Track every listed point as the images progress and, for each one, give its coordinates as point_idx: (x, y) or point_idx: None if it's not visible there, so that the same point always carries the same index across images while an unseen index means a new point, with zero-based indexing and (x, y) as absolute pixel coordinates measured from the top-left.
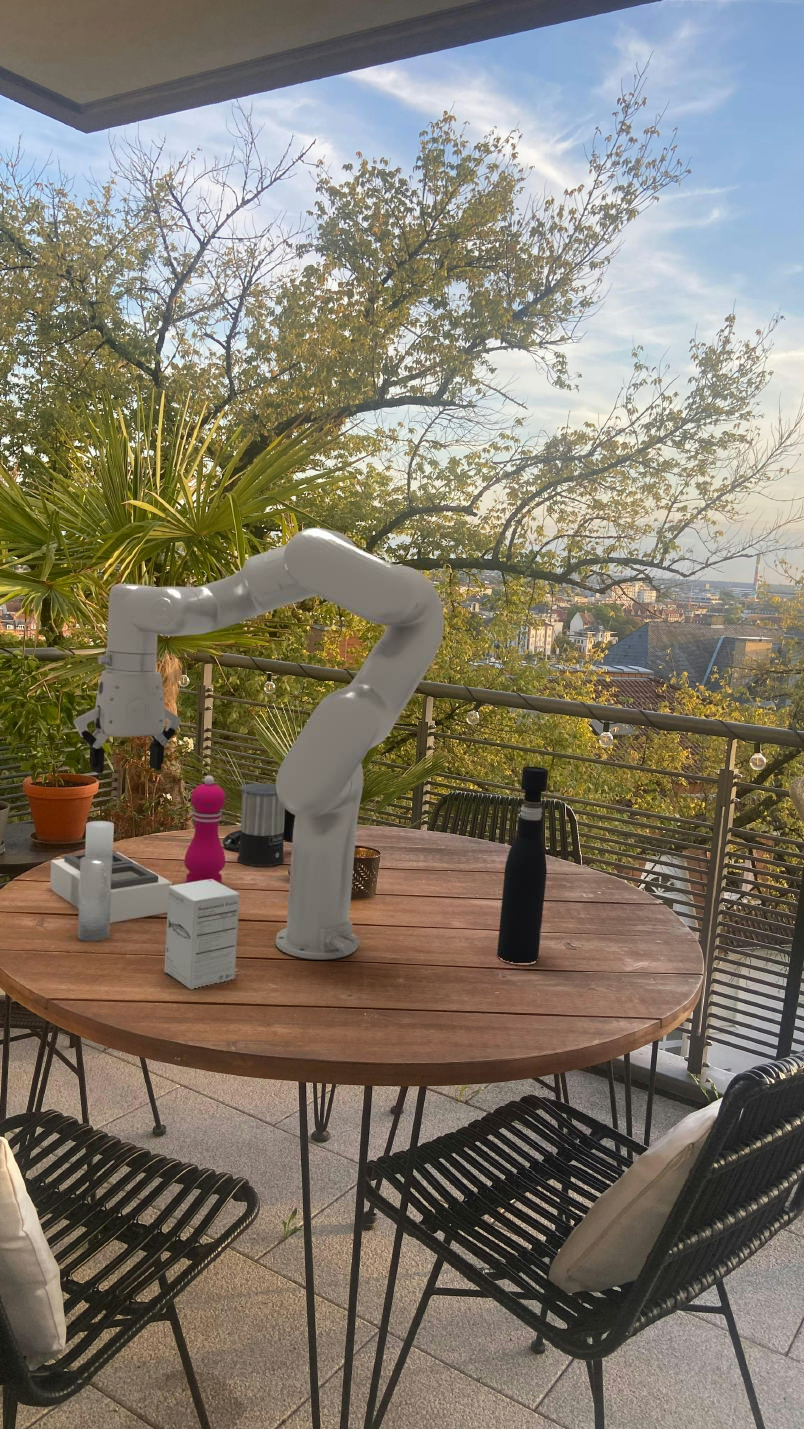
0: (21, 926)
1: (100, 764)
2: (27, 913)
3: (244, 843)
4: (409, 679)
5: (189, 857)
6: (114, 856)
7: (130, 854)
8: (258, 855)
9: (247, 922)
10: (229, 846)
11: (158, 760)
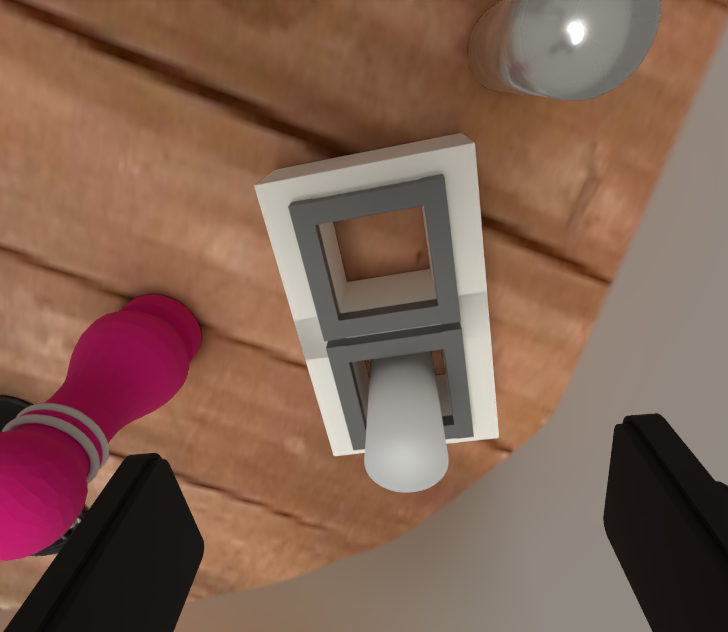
0: (635, 184)
1: (694, 466)
2: (586, 266)
3: None
4: None
5: (170, 358)
6: (359, 403)
7: (278, 527)
8: (7, 420)
9: (86, 16)
10: None
11: (116, 515)
